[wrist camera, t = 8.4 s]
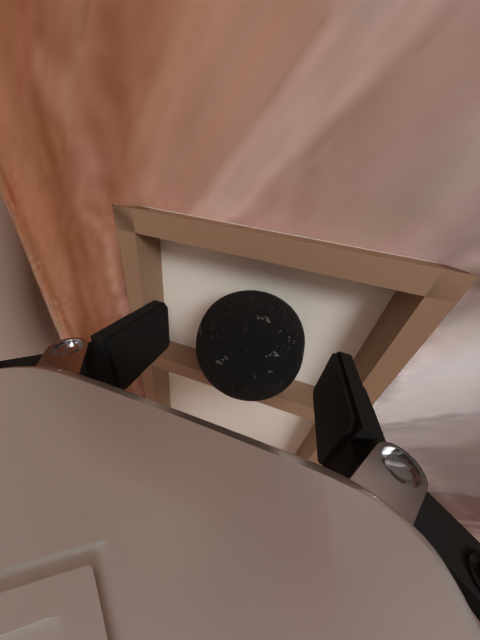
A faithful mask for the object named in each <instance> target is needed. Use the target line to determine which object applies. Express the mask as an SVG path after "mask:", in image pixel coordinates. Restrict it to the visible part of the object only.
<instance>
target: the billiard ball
mask: <svg viewBox="0 0 480 640" xmlns="http://www.w3.org/2000/svg"><path fill="white" fill-rule="evenodd" d="M304 353H305V335H304V330H303V326H302V323H301V321H300V319H299V317H298V315H297V314H296V312H295V311H294V310H293V308H292V307H291V306H290V305H289V304H287V303H286V302H285V301H284V300H282V299H280V298H279V297H277V296H275V295H272V294H270V293H267V292H263V291H257V290H244V291H237V292H233V293H230V294H228V295H225V296H224V297H222V298H220V299H219V300H217V301H216V302H215V303H213V304H212V305H211V306H210V308H209V309H208V310H207V311H206V313H205V315H204V316H203V318H202V320H201V323H200V325H199V328H198V332H197V337H196V356H197V360H198V364H199V366H200V369H201V371H202V373H203V374H204V376H205V377H206V379H207V380H208V381H209V382H210V383H211V384H212V385H213V386H214V387H215V388H216V389H217V390H219V391H220V392H222V393H223V394H225V395H227V396H229V397H231V398H234V399H238V400H242V401H261V400H266V399H269V398H272V397H274V396H276V395H278V394H280V393H281V392H283V391H284V390H285V389H286V388H287V387H288V386H289V385H290V384H291V383H292V382H293V381H294V379H295V378H296V376H297V374H298V372H299V370H300V368H301V365H302V362H303V358H304Z"/></svg>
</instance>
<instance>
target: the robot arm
mask: <svg viewBox="0 0 480 640" xmlns="http://www.w3.org/2000/svg"><path fill="white" fill-rule="evenodd" d="M91 339H92V341H91V342H89V343H88V341H87V340H86V339H83V338H78V337H76V338H67V339H63V340H60V341H58V342H55V343H53V344H52V345H50V346H49V347H48V348H47V349H46V350H45V352H44V353H43V354H40V355H35V356H29V357H23V358H16V359H11V360H4V361H0V640H480V543H479V542H478V541H477V540H476V539H475V538H474V537H473V536H472V535H471V534H470V533H469V532H468V531H467V530H466V529H465V528H464V527H463V526H462V525H461V524H460V523H459V522H458V521H457V520H456V519H455V518H454V517H453V516H452V515H451V514H450V513H449V512H448V511H447V510H446V509H445V508H444V507H443V506H441V505H440V504H439V503H438V502H437V501H436V500H435V499H434V498H433V497H432V496H431V495H430V494H429V493H428V492H427V489H428V482H427V479H426V476H425V474H424V472H423V470H422V469H421V467H420V466H419V465H418V463H417V462H416V461H415V460H414V459H413V458H412V457H411V456H410V455H409V454H408V453H407V452H406V451H404V450H403V449H402V448H400V447H398V446H396V445H395V444H393V443H389V442H386V440H385V438H384V435H383V432H382V430H381V427H380V425H379V422H378V419H377V417H376V414H375V412H374V409H373V407H372V404H371V401H370V399H369V396H368V394H367V391H366V389H365V387H364V386H363V385H362V382H361V379H360V377H359V374H358V371H357V369H356V366H355V363H354V361H353V358H352V356H351V355H350V354H346V353H343V352H339V351H338V352H337V353H333V354H332V355H331V357H330V359H329V361H328V363H327V365H326V366H325V368H324V370H323V372H322V374H321V376H320V378H319V380H318V382H317V384H316V385H315V387H314V390H313V404H314V417H315V431H316V444H317V458H318V463H319V464H322V466H321V465H319V464H316V463H314V462H311V461H309V460H306V459H304V458H301V457H299V456H296V455H294V454H291V453H289V452H286V451H284V450H281V449H279V448H276V447H274V446H271V445H268V444H266V443H263V442H261V441H258V440H255V439H253V438H250V437H248V436H245V435H242V434H240V433H237V432H234V431H232V430H229V429H227V428H224V427H221V426H219V425H216V424H213V423H211V422H208V421H206V420H203V419H200V418H198V417H195V416H192V415H190V414H187V413H184V412H182V411H179V410H176V409H174V408H171V407H168V406H166V405H163V404H160V403H158V402H155V401H152V400H150V399H147V398H144V397H142V396H139V395H136V394H134V393H131V392H128V391H125V390H123V389H126V388H127V387H128V386H129V385H130V384H131V383H132V382H133V381H134V380H136V379H137V378H138V377H139V376H140V375H141V374H142V373H143V372H144V371H145V370H146V369H147V368H148V367H149V366H150V365H151V364H152V363H153V362H154V361H155V360H156V359H157V358H158V357H159V356H160V355H161V354H162V353H163V352H164V351H165V350H166V349H167V348H168V346H169V344H170V338H169V319H168V307H167V306H166V304H165V303H164V302H160V301H157V300H154V301H152V302H150V303H148V304H146V305H145V306H143V307H141V308H139V309H137V310H136V311H134V312H132V313H130V314H129V315H127V316H125V317H123V318H122V319H120V320H118V321H116V322H114V323H113V324H111V325H109V326H107V327H106V328H104V329H102V330H100V331H99V332H97V333H95V334H93V335H92V336H91Z"/></svg>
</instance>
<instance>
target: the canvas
mask: <svg viewBox="0 0 480 640" xmlns="http://www.w3.org/2000/svg"><path fill="white" fill-rule="evenodd" d="M112 206H113V212H114V218H115V224H116V230H117V235H118V241H119V247H120V253H121V259H122V265H123V271H124V276H125V282H126V288H127V294H128V300H129V306H130V312H131V313H132V312H134V311H136V310H137V309H139V308H141V307H143V306H145V305H146V304H148V303H150V302H152V301H154V300H157V301H160V302H164V303H165V304H166V306H167V307H168V319H169V338H170V344H169V346H168V348H167V349H166V350H165V351H164V352H163V353H162V354H161V355H160V356H159V357H158V358H157V359H156V360H155V361H154V362H153V363H152V364H151V365H150V366H149V367H148V368H147V369H146V370H145V371H144V372H143V373H142V374H141V376H142V382H143V388H144V394H145V398H147V399H150V400H152V401H155V402H158V403H160V404H163V405H166V406H168V407H171V408H174V409H176V410H179V411H182V412H184V413H187V414H190V415H192V416H195V417H198V418H200V419H203V420H206V421H208V422H211V423H213V424H216V425H219V426H221V427H224V428H227V429H229V430H232V431H234V432H237V433H240V434H242V435H245V436H248V437H250V438H253V439H255V440H258V441H261V442H263V443H266V444H268V445H271V446H274V447H276V448H279V449H281V450H284V451H286V452H289V453H291V454H294V455H296V456H299V457H301V458H304V459H306V460H309V461H311V462H314V463H316V464H319V463H318V458H317V444H316V431H315V417H314V404H313V390H314V387H315V385H316V384H317V382H318V380H319V378H320V376H321V374H322V372H323V370H324V368H325V366H326V365H327V363H328V361H329V359H330V357H331V355H332V354H333V353H337V352H338V351H339V352H343V353H346V354H350V355H351V356H352V358H353V361H354V363H355V366H356V369H357V371H358V374H359V377H360V379H361V382H362V385H363V386H364V387H365V389H366V391H367V394H368V396H369V399H370V401H371V404H372V405H373V404H374V403H375V401H376V400H377V399H378V398H379V397H380V395H381V394H382V393H383V392H384V390H385V389H386V388H387V387H388V386H389V384H390V383H391V382H392V381H393V380H394V378H395V377H396V376H397V375H398V373H399V372H400V371H401V370H402V369H403V367H404V366H405V365H406V364H407V363H408V361H409V360H410V359H411V358H412V357H413V355H414V354H415V353H416V352H417V350H418V349H419V348H420V347H421V346H422V344H423V343H424V342H425V341H426V340H427V338H428V337H429V336H430V335H431V333H432V332H433V331H434V330H435V329H436V327H437V326H438V325H439V324H440V323H441V321H442V320H443V319H444V318H445V316H446V315H447V314H448V313H449V312H450V310H451V309H452V308H453V307H454V306H455V304H456V303H457V302H458V301H459V300H460V298H461V297H462V296H463V295H464V293H465V292H466V291H467V290H468V289H469V287H470V286H471V285H472V284H473V283H474V281H475V280H476V279H477V278H478V276H477V275H474V274H471V273H468V272H465V271H462V270H459V269H456V268H453V267H450V266H447V265H443V264H440V263H437V262H434V261H430V260H425V259H419V258H414V257H409V256H404V255H398V254H393V253H388V252H383V251H378V250H372V249H367V248H362V247H357V246H351V245H346V244H341V243H336V242H330V241H325V240H320V239H315V238H309V237H304V236H299V235H294V234H288V233H283V232H278V231H273V230H267V229H262V228H257V227H252V226H246V225H241V224H236V223H231V222H225V221H220V220H215V219H210V218H204V217H199V216H194V215H189V214H183V213H178V212H173V211H168V210H162V209H157V208H152V207H141V206H127V205H113V204H112ZM244 290H257V291H263V292H267V293H270V294H272V295H275V296H277V297H279V298H280V299H282V300H284V301H285V302H286V303H287V304H289V305H290V306H291V307H292V308H293V310H294V311H295V312H296V314H297V315H298V317H299V319H300V321H301V323H302V326H303V330H304V335H305V353H304V358H303V362H302V365H301V368H300V370H299V372H298V374H297V376H296V378H295V379H294V381H293V382H292V383H291V384H290V385H289V386H288V387H287V388H286V389H285V390H284V391H283V392H281V393H280V394H278V395H276V396H274V397H272V398H269V399H266V400H261V401H242V400H238V399H234V398H231V397H229V396H227V395H225V394H223V393H222V392H220V391H219V390H217V389H216V388H215V387H214V386H213V385H212V384H211V383H210V382H209V381H208V380H207V379H206V377H205V376H204V374H203V373H202V371H201V369H200V366H199V364H198V360H197V356H196V337H197V332H198V328H199V325H200V323H201V320H202V318H203V316H204V315H205V313H206V311H207V310H208V309H209V308H210V306H211V305H212V304H213V303H215V302H216V301H217V300H219V299H220V298H222V297H224V296H225V295H228V294H230V293H233V292H237V291H244ZM319 465H321V466H322V464H319Z"/></svg>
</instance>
